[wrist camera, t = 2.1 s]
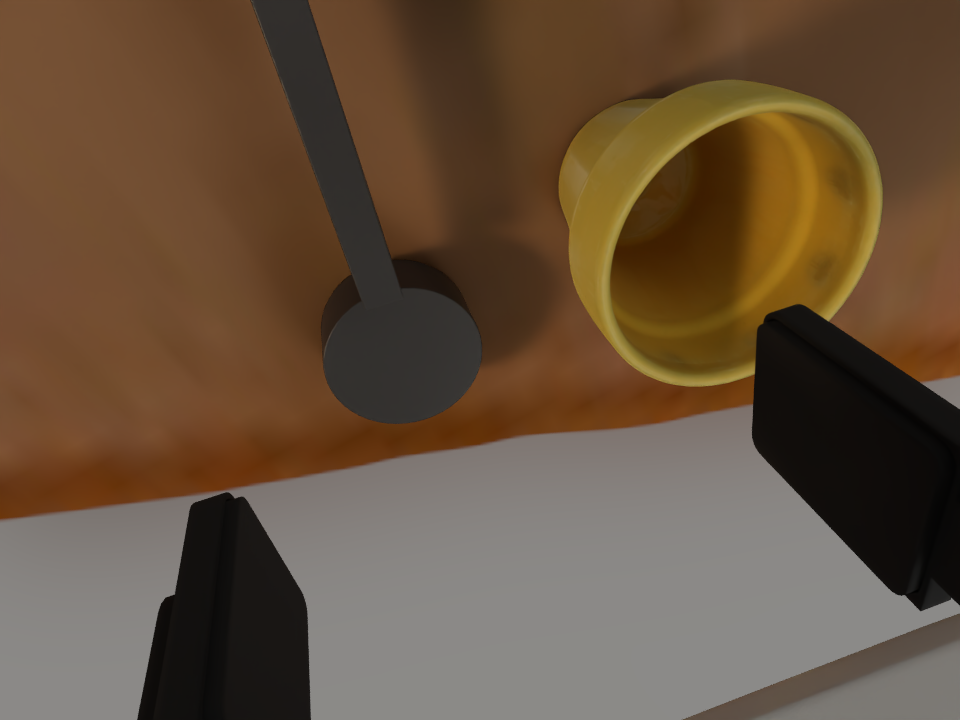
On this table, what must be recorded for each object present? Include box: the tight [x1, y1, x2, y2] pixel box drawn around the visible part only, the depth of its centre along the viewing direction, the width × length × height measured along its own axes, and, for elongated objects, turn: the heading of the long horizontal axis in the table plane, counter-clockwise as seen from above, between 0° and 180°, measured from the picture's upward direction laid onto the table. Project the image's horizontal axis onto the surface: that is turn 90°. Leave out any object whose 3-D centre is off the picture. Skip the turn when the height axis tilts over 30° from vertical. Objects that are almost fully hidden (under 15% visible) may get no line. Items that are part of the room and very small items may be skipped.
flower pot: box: [559, 80, 883, 386], centre depth 25 cm, size 10×10×10 cm
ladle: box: [251, 0, 482, 424], centre depth 25 cm, size 21×7×4 cm, turn 12°
